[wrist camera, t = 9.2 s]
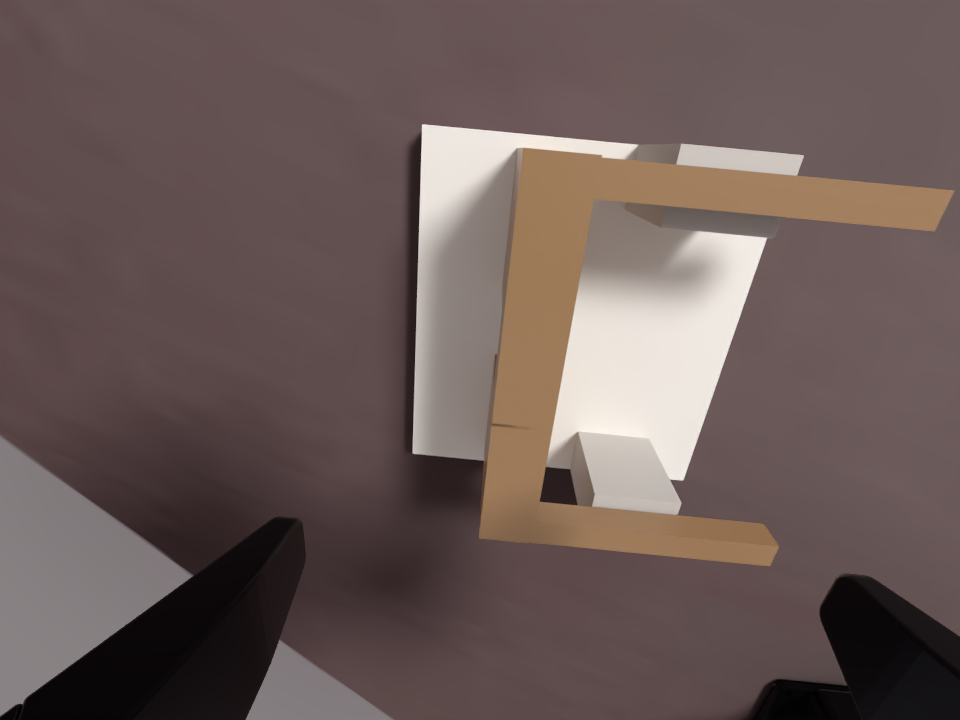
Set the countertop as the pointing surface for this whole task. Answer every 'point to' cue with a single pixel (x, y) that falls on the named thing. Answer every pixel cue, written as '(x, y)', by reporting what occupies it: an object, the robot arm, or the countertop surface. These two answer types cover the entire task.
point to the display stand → (585, 313)
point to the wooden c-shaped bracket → (548, 318)
